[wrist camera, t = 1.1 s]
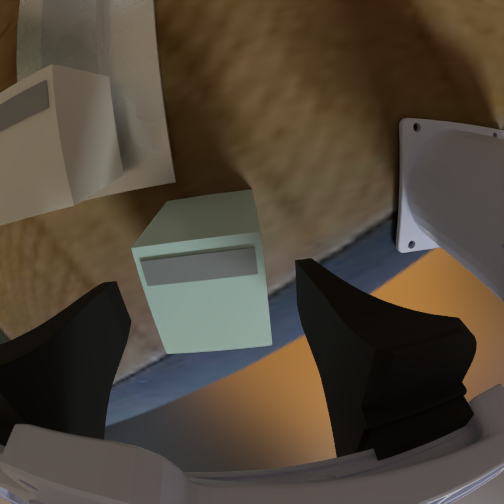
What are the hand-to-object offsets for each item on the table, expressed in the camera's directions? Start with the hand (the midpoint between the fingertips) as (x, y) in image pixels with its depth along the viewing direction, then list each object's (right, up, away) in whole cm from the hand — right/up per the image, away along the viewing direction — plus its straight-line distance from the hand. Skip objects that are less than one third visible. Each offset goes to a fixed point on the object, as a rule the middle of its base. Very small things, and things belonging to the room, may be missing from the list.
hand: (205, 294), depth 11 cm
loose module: (0, +2, +5) cm, 5 cm away
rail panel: (-8, +13, -1) cm, 15 cm away
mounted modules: (-7, +13, -2) cm, 15 cm away
